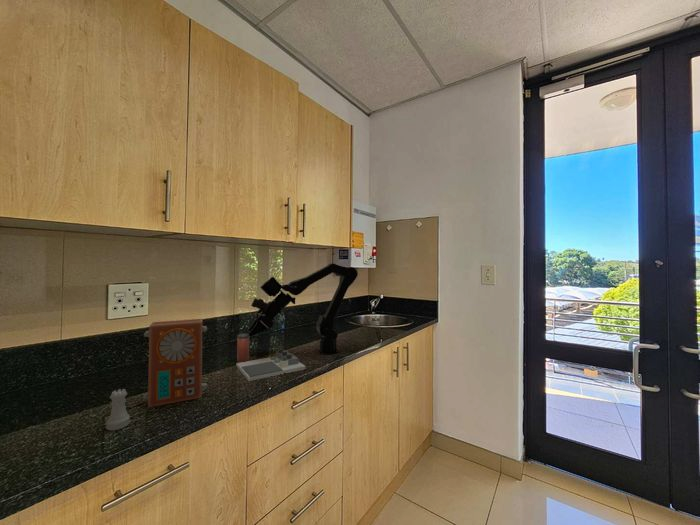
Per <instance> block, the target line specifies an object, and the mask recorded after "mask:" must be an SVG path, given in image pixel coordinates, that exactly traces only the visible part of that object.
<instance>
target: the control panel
mask: <svg viewBox="0 0 700 525" xmlns="http://www.w3.org/2000/svg"><path fill="white" fill-rule="evenodd" d="M207 330H208V326H206V325H203V319H202V318H194V319H193V318H192V319H182V320H181V319H179V320H167V321H166V320H165V321H153V322H152V323H150V325H149V329H148V330H146V331H145V332H144V333H143V337H145V338H146V337H147V338H148V385H147V386H148V387H147V388H148V389H147V390H148V391H147V392H144V394H143V396H142V399H143V400H147V407H148V408H151V407H159V406H163V405H167V404H173V403H181V402H185V401H191V400H195V399H201V398H202V395H203V393H202V392H203V391H204V390H207V386H208V384H207V383H206V382H203V333H204V332H207Z"/></svg>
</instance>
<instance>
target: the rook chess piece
mask: <svg viewBox="0 0 700 525" xmlns="http://www.w3.org/2000/svg"><path fill="white" fill-rule="evenodd" d="M127 395H128V392H127V390H126V389H125V388H122V389H121V388H118V389H117V390H116V389H115V390H113V391H111V395H110V396H109V399H111V402H110V404H111V411H110V415H109V416H108V419H107V420H106V423H105V424H106V426H105V429H106V430H108V431H111V432H113V431H119V430H122V429H124V428H126V427H127V426H128V425H129V424H130V423H131V420H130V418H131V416H130V415H129V413H128V411H127V408H126V401H127V399H126V397H127Z"/></svg>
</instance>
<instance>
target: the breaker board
mask: <svg viewBox="0 0 700 525" xmlns="http://www.w3.org/2000/svg"><path fill="white" fill-rule="evenodd" d="M275 353H276V354H275V356H270V357H264V358H259V359H254V360H253V359H252V360H248V361H245V362H236V365H235V367H236V368H237V369H238V371H239V372H240V373H241V374H242V375H243V377H244V378H245V379H246V380H247V381H248V382H251V381H255V380H261V379H262V380H263V379H266V378H267V379H268V378H271V376H272V377H275V376H281V375H285V374H284V373H286V374H289V373H294V372H299V371H304V369H305V370H306V365H304V364H303V363H302V362H300V360H299V357H298V356H296V355H294V354H292V353H291V352H289V351H288V350H284V349H283V348H278V349H277V351H276V352H275ZM280 374H281V375H280Z"/></svg>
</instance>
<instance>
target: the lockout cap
mask: <svg viewBox="0 0 700 525" xmlns="http://www.w3.org/2000/svg"><path fill="white" fill-rule="evenodd" d="M236 342H237V343H236V344H237V346H236V347H237V349H236V351H237V353H236V355H237V356H236V357H237V358H236V362H237V363H241V362H244V361H245V362H246V361H250V336H249V333H240V334H237V339H236Z"/></svg>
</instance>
